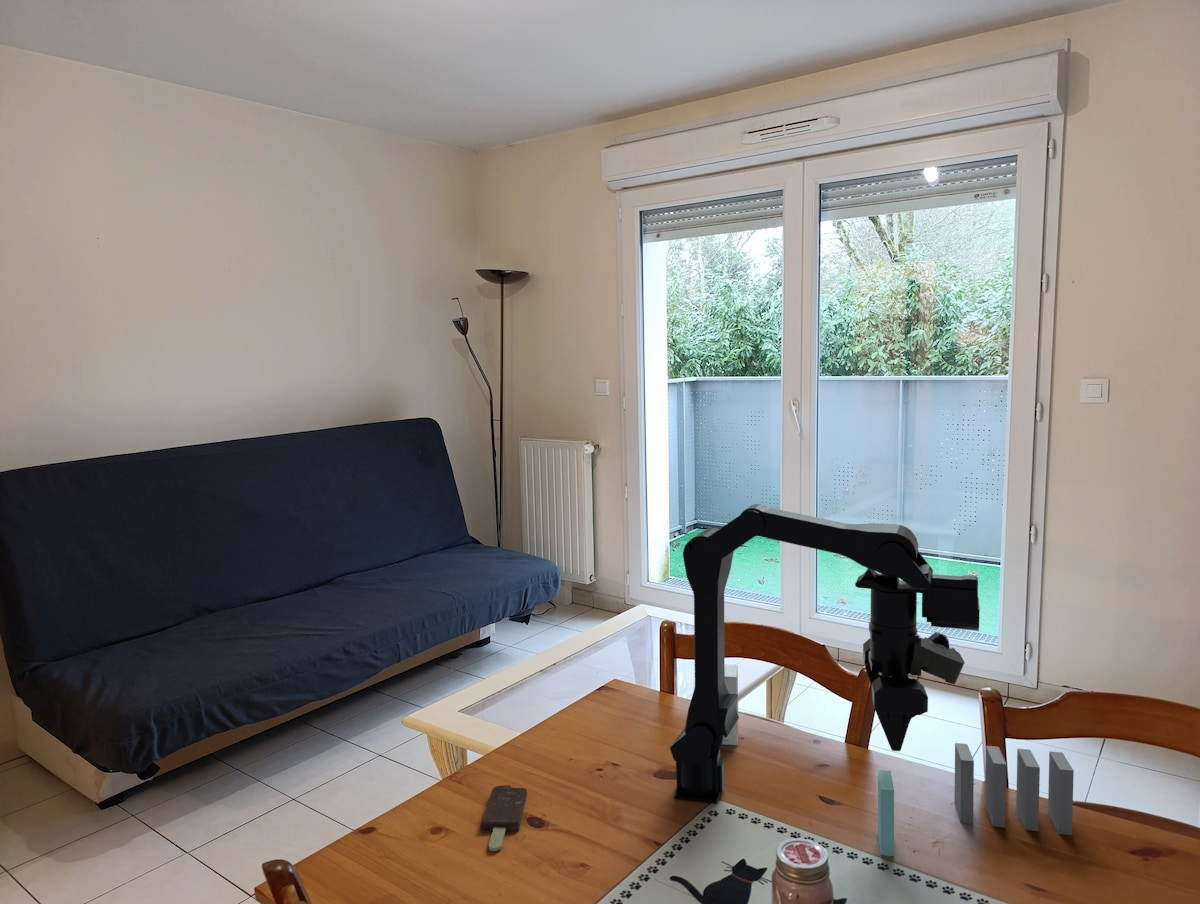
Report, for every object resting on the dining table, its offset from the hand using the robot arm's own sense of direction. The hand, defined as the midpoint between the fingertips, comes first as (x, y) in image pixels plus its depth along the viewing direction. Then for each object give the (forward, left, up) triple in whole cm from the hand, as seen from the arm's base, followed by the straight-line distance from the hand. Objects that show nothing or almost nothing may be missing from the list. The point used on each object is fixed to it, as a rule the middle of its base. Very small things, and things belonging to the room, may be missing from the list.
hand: (891, 734), depth 104 cm
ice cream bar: (-53, -10, -14) cm, 56 cm away
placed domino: (-1, -4, -14) cm, 14 cm away
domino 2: (+14, +6, -14) cm, 20 cm away
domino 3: (+18, +6, -14) cm, 23 cm away
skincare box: (-25, +22, -14) cm, 36 cm away
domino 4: (+22, +6, -14) cm, 27 cm away
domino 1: (+10, +6, -14) cm, 18 cm away
